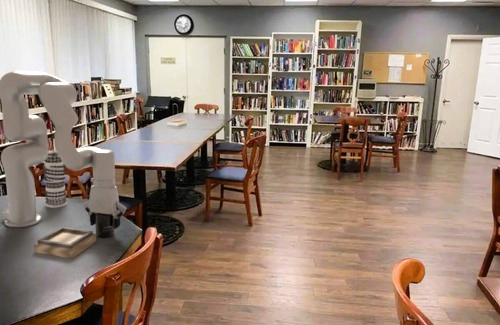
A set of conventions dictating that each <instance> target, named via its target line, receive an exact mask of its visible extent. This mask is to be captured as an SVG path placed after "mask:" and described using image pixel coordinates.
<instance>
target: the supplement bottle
mask: <svg viewBox="0 0 500 325" xmlns="http://www.w3.org/2000/svg"><path fill="white" fill-rule="evenodd" d="M114 219H115V217H114V216H113V215H112V214H102V213H96V216H95V222H96V224H95V234H96V238H99V239H110V238H112V237H114V236H115V231H116V229H114Z"/></svg>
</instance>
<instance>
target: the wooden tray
mask: <svg viewBox="0 0 500 325" xmlns="http://www.w3.org/2000/svg"><path fill="white" fill-rule="evenodd" d="M96 242H97V236H96V233H94V231H91V230H86V229H78V228H74V227H73V228H71V227H67V226H61V227H59V228H58V229H56V230H53V231H52V232H50V233H48V234H46V235H45V236H43V237H40V238H39V239H38V240H37V242H35V243H34V244H33V245H34V253H37V254H42V255H49V256H54V257H55V256H56V257H62V258H67V259H73V258H75V257H76V256H77V255H79V254H80V253H81V252H83V251H85V250H86V249H87V248H89V247H91V246H92V245H93V244H95V243H96Z"/></svg>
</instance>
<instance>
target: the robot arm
mask: <svg viewBox="0 0 500 325" xmlns="http://www.w3.org/2000/svg"><path fill="white" fill-rule="evenodd" d="M24 95H38V97H39V99H40V101H41V103H42V105H43V107H44V109H45V111H46V112H47V114H48V116H49V118H50V120H51V122H52V124H53V126H54V128H55V130H54V134H53V135H54V140H53V141H54V148H55V150H56V151H57V153H58V155H59V157H60V158H61V160H62V162H63V163H64V165H65V166H66V167H65V168H67V169H68V170H70V171H73V172H77V171H81V170H84V169H87V168H90V167H91V168H92V177H91V178H90V182H91V183H92V185H91V187H90V191H89V198H88V199H89V200H86V201H85V202H83V203H82V204H83V207H84V208H85V209H84V210H85V211H86V212H87V215H88V216H89V222H90V223H89V225H90V226H93V225H96V222H95V216H96V213H102V214H112V215H113V216H114V217H115V219H114V229H115V230H117V229H118V228H120V225H121V217H122V216H124V214H125V212H126V211H127V209H128V208H127V207H126V206H125V205H123V204H122V203H120V198H119V192H118V187H117V186H116V177H115V176H116V174H115V173H116V172H115V171H116V168H115V167H116V166H115V164H116V163H115V160H116V158H115V153H114V150H112V149H107V148H106V149H105V148H104V149H103V148H102V149H101V148H98V147H95V146H84V147H79V148H76V145H75V144H74V142H73V138H72V130H73V128H74V127H75V125H76V124H77V123H78V121H79V117H78V114H77V113H76V111H75V110H74V107H73V105H72V104H74V103H75V102H76V101H77V99H78V92H77V90H76V88H75V87H74V85H72V84H71V83H70V82H68V81H65V80H63V79H61V78H58V77H57V76H54V75H52V74H50V73H47V72H43V71H29V70H25V71H24V70H23V71H22V70H14V71H9V72H8V73H7V72H6V73H5V74H4V75H3V76H1V78H0V102H1V110H2V111H1V112H2V128H3V133H4V136H5V138H6V139H7V140H9V141H10V142H21V141H26V142H22V143H17V144H13V145H10V146H9V145H8V146H7V147H5V148H4V149H3V150H2V152H1V154H0V160H1V163H2V167H3V171H4V174H5V183H6V184H5V186H6V195H7V207H8V208H5V209H4V210H3V211H2V212H1V216H6V219H5V220H4V225H5V226H7V227H10V228H26V227H31V226H33V225H36V224H39V223H40V222H41V221H42V216H41V215H40V214H37V203H36V202H37V199H36V186H35V177H34V175H33V173H32V171H31V170H30V167H33V166H34V167H35V166H37V165H40V164H42V163H44V161H45V160H46V159H47V156H48V151H49V145H48V142H49V141H48V128H47V124H46V122H45V120H44V119H43V118H42V117H41V116H39V115H37V114H29V104H28V102H27V99H26V98H25V97H24ZM119 210H120V211H119Z"/></svg>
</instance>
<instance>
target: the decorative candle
mask: <svg viewBox="0 0 500 325" xmlns="http://www.w3.org/2000/svg"><path fill="white" fill-rule="evenodd" d="M43 163H44V165H43V167H42V169H43V171H42V172H43V173H44V174H43V180H44V182H45V191H44V193H45V195H44V196H45V198H44V199H45V203H46V204H45V206H46V207H47V208H53V209H54V208H55V209H56V208H61V207H64V206H66V205H67V189H66V185H65V181H66V177H65V175H66V169H65V168H67V167H66V166H65V165H64V163H63V162H62V160H61V158H60V157H59V155H58V153H57V151H56V149H55V150H48V156H47V159H46V160H45V161H44V162H43Z"/></svg>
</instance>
